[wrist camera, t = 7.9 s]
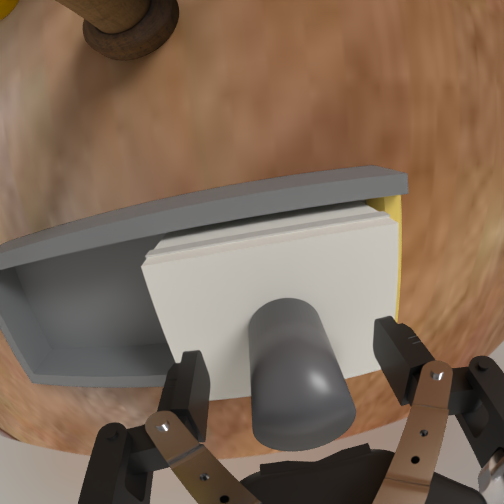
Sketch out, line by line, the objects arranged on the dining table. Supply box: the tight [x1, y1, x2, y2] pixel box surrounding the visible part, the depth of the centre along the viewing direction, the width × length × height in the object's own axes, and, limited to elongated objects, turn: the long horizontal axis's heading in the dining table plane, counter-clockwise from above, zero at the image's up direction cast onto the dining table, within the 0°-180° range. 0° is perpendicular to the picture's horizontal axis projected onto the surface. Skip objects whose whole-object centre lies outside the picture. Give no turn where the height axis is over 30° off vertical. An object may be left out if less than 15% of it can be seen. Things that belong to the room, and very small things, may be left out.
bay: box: [0, 165, 408, 388], centre depth 20 cm, size 12×32×5 cm, turn 100°
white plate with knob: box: [141, 200, 399, 451], centre depth 15 cm, size 9×12×13 cm
